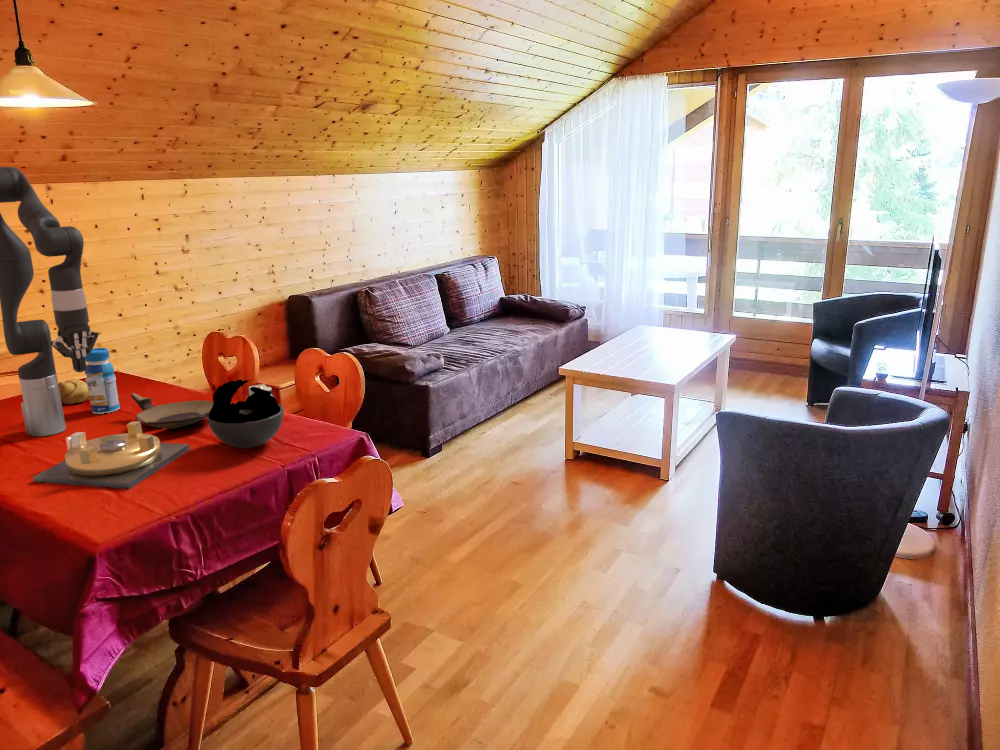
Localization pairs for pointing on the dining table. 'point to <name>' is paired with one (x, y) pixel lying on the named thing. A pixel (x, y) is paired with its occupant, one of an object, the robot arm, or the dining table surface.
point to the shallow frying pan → (171, 412)
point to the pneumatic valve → (261, 388)
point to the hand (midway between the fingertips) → (80, 371)
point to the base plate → (118, 480)
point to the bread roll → (73, 391)
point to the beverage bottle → (101, 382)
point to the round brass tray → (112, 452)
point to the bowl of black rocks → (244, 416)
